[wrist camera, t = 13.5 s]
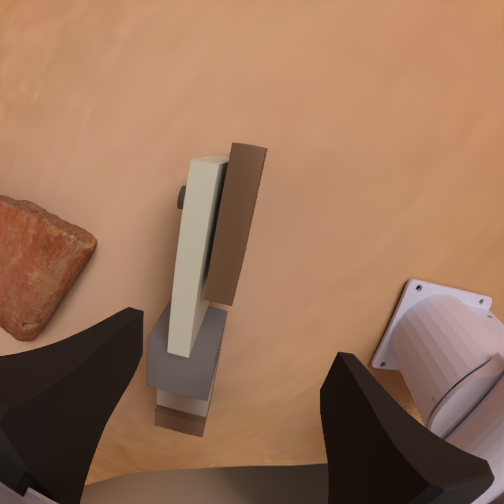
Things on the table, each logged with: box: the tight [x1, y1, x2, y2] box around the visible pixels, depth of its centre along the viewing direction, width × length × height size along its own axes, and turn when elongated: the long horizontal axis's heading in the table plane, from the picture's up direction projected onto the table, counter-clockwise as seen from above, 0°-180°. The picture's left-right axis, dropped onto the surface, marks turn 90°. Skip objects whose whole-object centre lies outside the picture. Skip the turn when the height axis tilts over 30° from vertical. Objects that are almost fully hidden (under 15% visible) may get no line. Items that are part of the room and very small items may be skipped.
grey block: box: [147, 298, 227, 401], centre depth 19 cm, size 4×4×5 cm
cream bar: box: [167, 155, 229, 358], centre depth 17 cm, size 2×10×6 cm, turn 168°
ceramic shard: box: [0, 195, 97, 342], centre depth 20 cm, size 15×6×15 cm
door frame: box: [155, 143, 267, 437], centre depth 19 cm, size 4×22×6 cm, turn 168°
